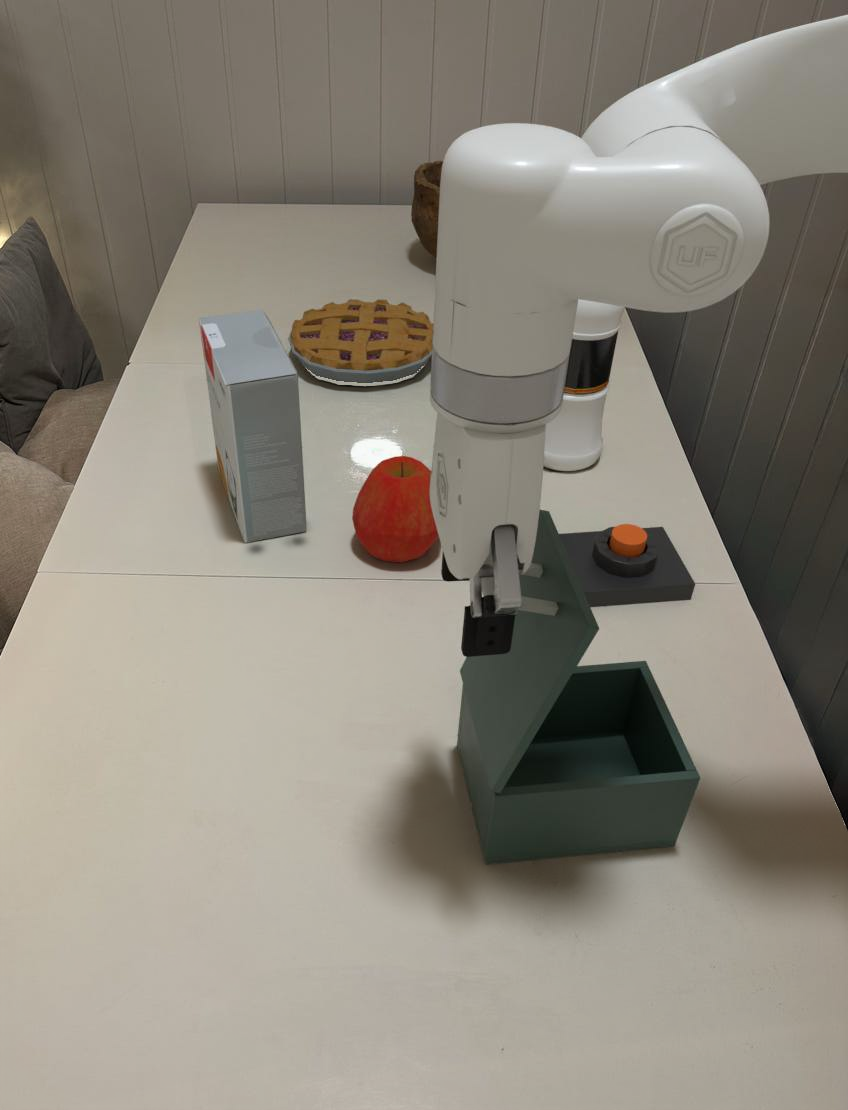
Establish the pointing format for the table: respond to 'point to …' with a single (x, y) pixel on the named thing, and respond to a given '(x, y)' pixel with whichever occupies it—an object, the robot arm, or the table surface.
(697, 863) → the table surface
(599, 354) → the vodka
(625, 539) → the release button
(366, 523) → the apple
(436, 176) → the bowl
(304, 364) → the pie
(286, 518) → the hard drive box
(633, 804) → the hinged box
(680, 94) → the robot arm
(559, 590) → the box lid
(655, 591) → the control block
